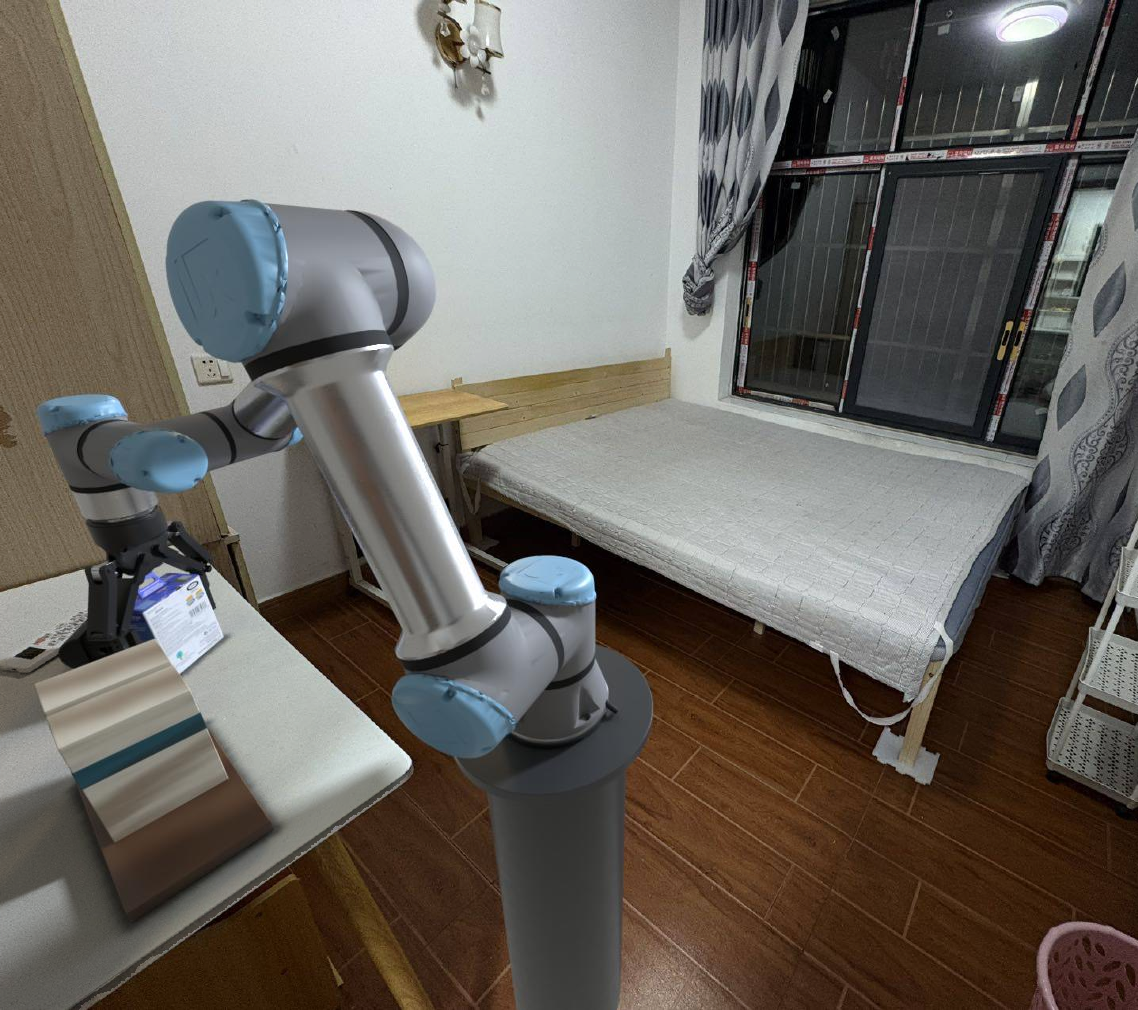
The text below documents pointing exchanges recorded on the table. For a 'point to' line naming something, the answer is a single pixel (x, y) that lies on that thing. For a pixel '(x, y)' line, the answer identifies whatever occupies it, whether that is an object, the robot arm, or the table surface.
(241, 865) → the table surface
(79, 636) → the end cap
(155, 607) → the ink cartridge box
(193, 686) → the table surface
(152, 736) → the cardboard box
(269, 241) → the robot arm
